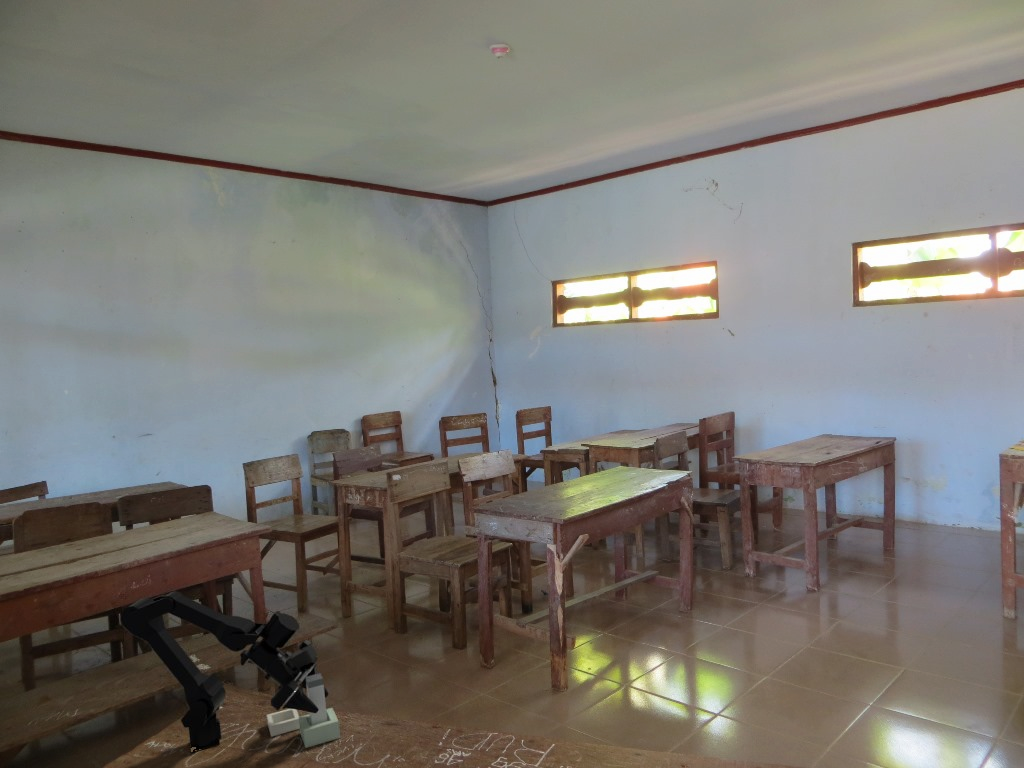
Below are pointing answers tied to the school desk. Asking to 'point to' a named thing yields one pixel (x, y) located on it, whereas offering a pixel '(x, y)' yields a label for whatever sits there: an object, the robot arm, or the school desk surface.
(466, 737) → the school desk surface
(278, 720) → the low collar
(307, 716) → the raised socket
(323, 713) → the plug
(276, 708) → the robot arm
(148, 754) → the school desk surface
